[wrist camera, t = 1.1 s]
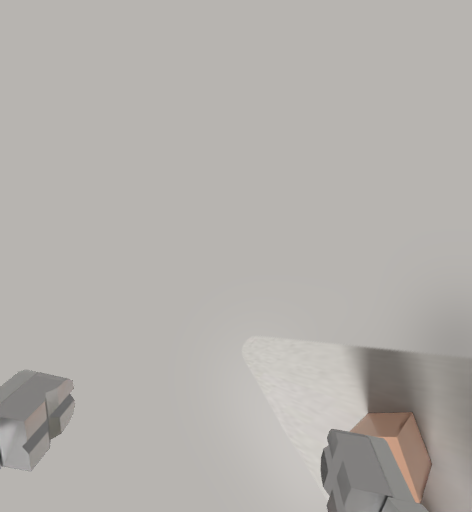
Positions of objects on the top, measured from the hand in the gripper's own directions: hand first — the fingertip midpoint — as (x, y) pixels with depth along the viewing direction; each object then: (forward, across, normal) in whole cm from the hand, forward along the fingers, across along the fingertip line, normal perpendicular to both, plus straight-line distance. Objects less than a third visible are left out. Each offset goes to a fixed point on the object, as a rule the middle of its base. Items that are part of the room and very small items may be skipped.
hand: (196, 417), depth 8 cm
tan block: (+26, -27, +27) cm, 46 cm away
